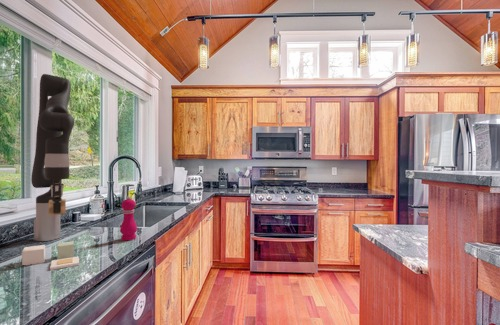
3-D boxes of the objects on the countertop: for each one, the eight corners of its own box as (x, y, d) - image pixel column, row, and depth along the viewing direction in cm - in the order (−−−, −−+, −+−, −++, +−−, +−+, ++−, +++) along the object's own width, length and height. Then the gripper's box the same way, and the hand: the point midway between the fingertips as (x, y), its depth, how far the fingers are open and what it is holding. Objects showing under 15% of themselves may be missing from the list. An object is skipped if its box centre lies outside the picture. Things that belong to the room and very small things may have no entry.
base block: (22, 266, 94) (22, 251, 94) (24, 261, 99) (24, 247, 99) (43, 262, 97) (43, 248, 97) (45, 258, 102) (45, 244, 102)
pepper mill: (140, 237, 129) (140, 195, 129) (129, 241, 122) (128, 197, 123) (128, 236, 132) (128, 194, 132) (116, 240, 125) (116, 196, 125)
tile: (50, 270, 90) (50, 267, 90) (51, 262, 97) (51, 260, 97) (78, 265, 94) (78, 262, 94) (78, 258, 101) (78, 255, 101)
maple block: (48, 215, 98) (48, 201, 98) (49, 213, 102) (49, 199, 102) (65, 213, 101) (65, 200, 101) (65, 211, 105) (65, 198, 105)
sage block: (57, 260, 100) (57, 246, 100) (58, 256, 104) (58, 243, 104) (73, 257, 102) (73, 244, 102) (73, 253, 106) (73, 241, 106)
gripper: (69, 166, 98) (69, 213, 98) (69, 165, 110) (69, 208, 110) (43, 166, 94) (43, 216, 94) (45, 166, 106) (45, 210, 106)
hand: (57, 211), depth 102 cm, fingers closed on maple block, 5 cm apart
